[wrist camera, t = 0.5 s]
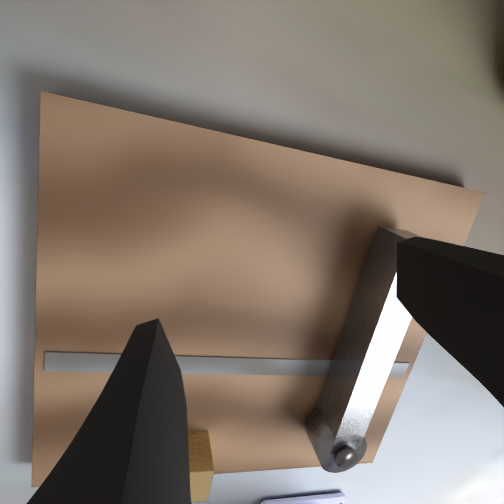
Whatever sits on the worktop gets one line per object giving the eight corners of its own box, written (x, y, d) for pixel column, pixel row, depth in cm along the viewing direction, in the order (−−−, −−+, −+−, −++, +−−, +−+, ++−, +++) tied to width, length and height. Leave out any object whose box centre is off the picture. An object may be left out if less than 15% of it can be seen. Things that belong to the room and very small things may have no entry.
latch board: (362, 446, 29) (373, 463, 27) (39, 464, 22) (30, 488, 20) (465, 188, 22) (487, 193, 21) (51, 93, 15) (39, 90, 14)
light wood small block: (202, 458, 23) (207, 500, 20) (139, 462, 22) (136, 507, 19) (208, 430, 22) (214, 470, 19) (144, 432, 21) (141, 475, 18)
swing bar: (339, 437, 24) (361, 476, 22) (299, 439, 24) (316, 480, 21) (415, 231, 20) (455, 249, 17) (369, 223, 19) (403, 240, 16)
